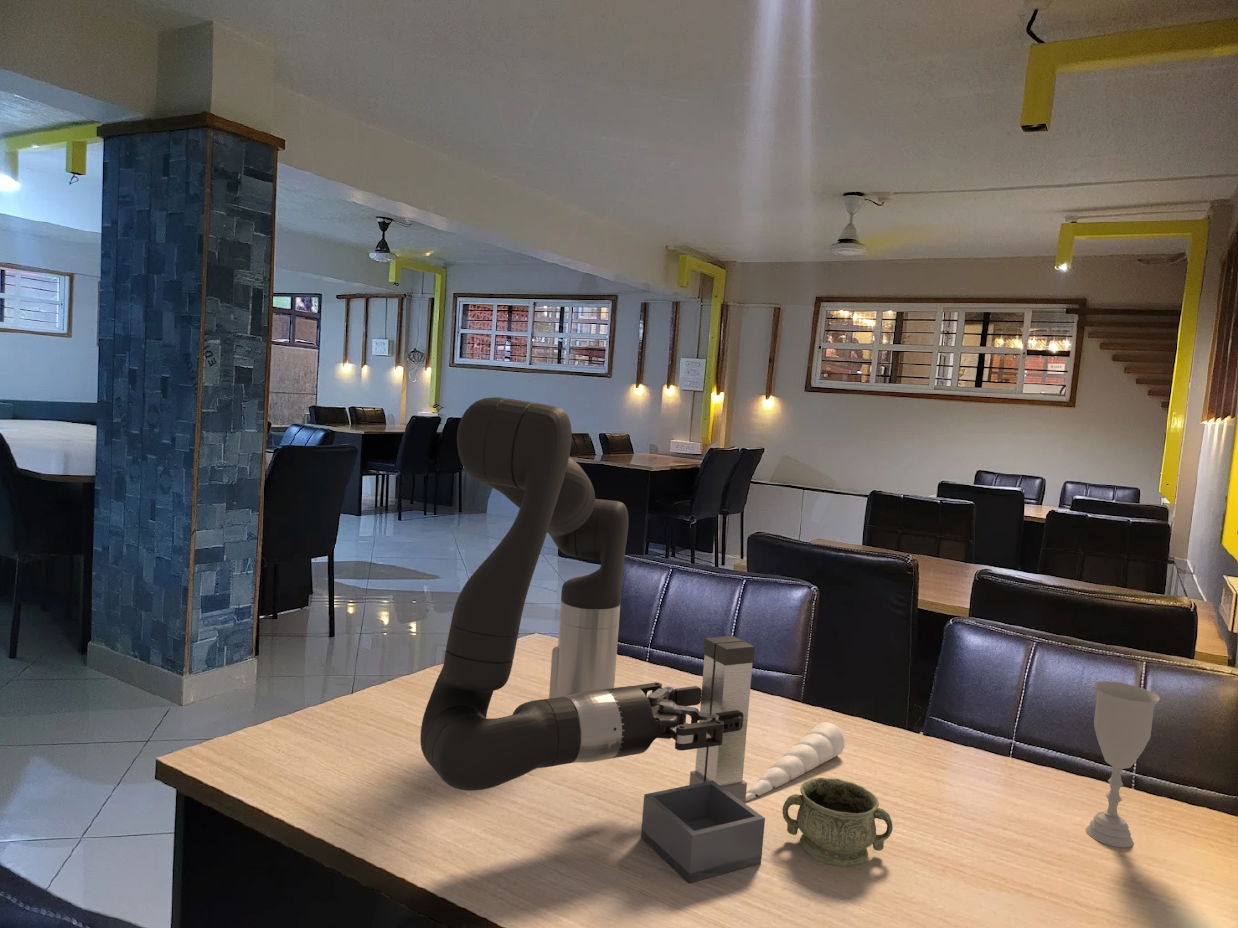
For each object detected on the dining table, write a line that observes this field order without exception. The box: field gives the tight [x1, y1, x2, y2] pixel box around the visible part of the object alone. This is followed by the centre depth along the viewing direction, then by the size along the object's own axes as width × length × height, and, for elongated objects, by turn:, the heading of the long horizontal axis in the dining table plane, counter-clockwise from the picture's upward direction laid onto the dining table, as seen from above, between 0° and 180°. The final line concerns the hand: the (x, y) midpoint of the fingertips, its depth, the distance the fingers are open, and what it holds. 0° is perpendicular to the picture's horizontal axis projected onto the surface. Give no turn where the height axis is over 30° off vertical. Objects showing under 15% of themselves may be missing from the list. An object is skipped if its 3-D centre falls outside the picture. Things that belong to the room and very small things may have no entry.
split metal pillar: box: [688, 635, 756, 804], centre depth 100 cm, size 5×5×20 cm
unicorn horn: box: [745, 722, 846, 802], centre depth 110 cm, size 5×24×5 cm, turn 135°
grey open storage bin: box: [640, 780, 766, 884], centre depth 89 cm, size 9×9×5 cm
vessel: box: [781, 777, 893, 867], centre depth 91 cm, size 12×9×6 cm
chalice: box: [1085, 680, 1161, 848], centre depth 98 cm, size 7×7×18 cm
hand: (719, 706), depth 100 cm, fingers open, 8 cm apart
